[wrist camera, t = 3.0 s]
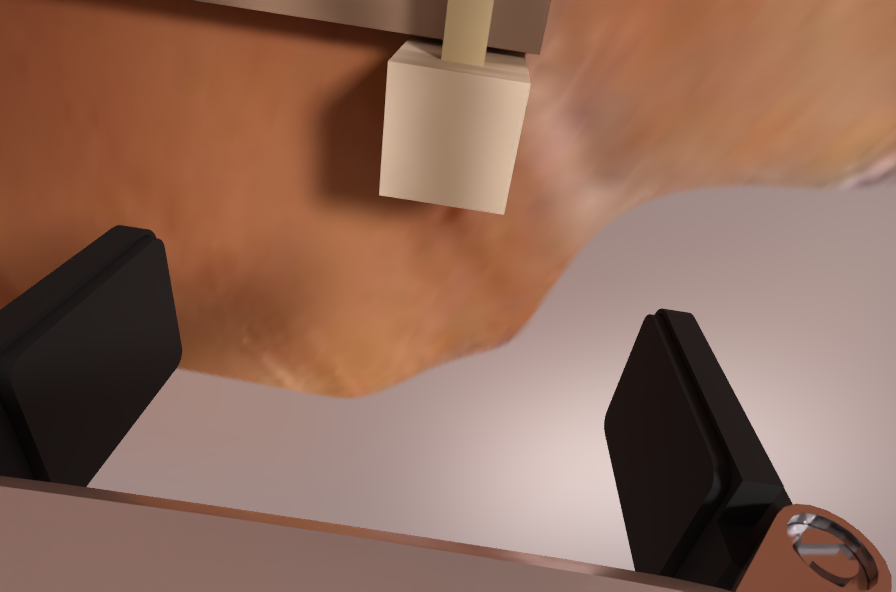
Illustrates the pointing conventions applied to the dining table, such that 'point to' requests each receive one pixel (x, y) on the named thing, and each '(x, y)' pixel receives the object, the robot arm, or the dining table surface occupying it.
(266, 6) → the board
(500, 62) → the mallet
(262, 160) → the dining table surface
